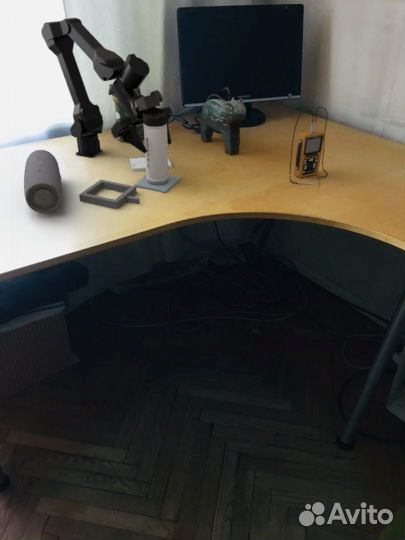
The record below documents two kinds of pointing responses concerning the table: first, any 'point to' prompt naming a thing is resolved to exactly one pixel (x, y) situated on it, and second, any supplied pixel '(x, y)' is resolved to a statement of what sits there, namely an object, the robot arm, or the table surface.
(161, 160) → the travel mug
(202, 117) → the animal figurine
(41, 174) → the bluetooth speaker
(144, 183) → the mat
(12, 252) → the table surface
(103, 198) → the collar
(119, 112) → the coffee jar
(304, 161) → the multimeter
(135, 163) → the hard drive
